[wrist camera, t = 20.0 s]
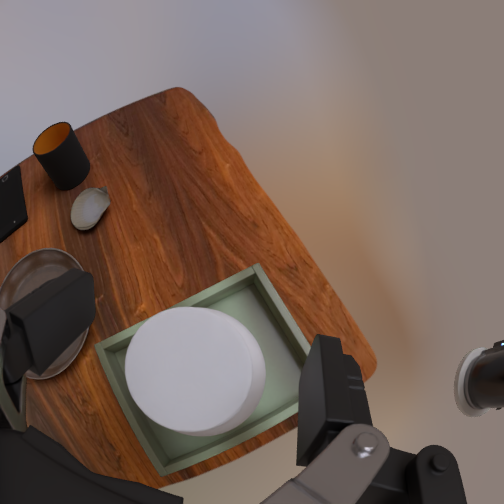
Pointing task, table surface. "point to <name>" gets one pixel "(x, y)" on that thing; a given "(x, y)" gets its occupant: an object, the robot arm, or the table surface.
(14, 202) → the cell phone
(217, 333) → the pill bottle
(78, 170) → the mug
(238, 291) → the tray
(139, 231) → the table surface
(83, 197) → the seashell
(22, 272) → the plant saucer
